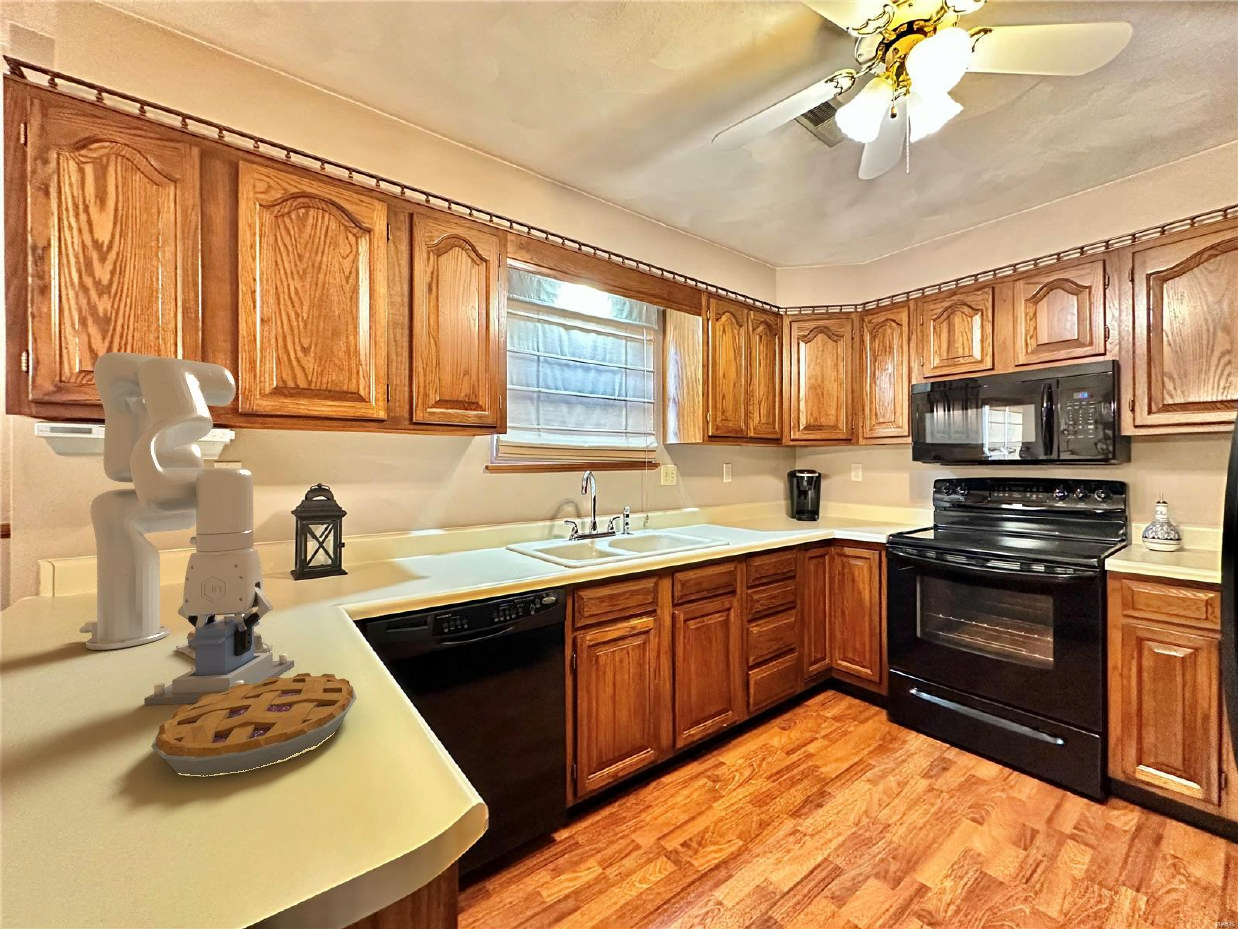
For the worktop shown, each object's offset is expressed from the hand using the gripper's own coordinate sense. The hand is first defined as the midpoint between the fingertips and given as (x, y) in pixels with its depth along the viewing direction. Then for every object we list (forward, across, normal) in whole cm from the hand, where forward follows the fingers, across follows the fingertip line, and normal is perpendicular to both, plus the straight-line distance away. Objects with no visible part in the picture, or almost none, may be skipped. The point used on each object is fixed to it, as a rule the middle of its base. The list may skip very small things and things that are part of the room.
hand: (226, 652), depth 84 cm
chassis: (+5, 0, 0) cm, 5 cm away
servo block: (+2, 0, 0) cm, 2 cm away
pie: (+6, +16, -18) cm, 25 cm away
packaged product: (+6, -12, +17) cm, 21 cm away
